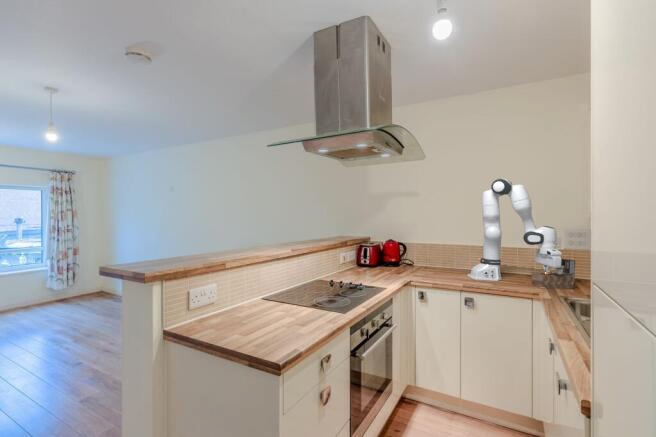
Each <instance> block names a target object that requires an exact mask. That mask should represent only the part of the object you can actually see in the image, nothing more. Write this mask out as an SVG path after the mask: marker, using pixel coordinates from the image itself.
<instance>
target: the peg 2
mask: <svg viewBox="0 0 656 437" xmlns="http://www.w3.org/2000/svg"><path fill="white" fill-rule="evenodd" d="M564 267H565V266H563V265H561V267H560V268H554V273H555V275H562V274H563V268H564Z"/></svg>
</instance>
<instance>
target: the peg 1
mask: <svg viewBox="0 0 656 437" xmlns="http://www.w3.org/2000/svg"><path fill="white" fill-rule="evenodd" d="M540 273H542V274H543V275H550V274H552V273H553V272H551V271H550V272H545V271H544V270H541V272H540Z"/></svg>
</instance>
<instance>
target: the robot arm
mask: <svg viewBox="0 0 656 437" xmlns="http://www.w3.org/2000/svg"><path fill="white" fill-rule="evenodd" d="M490 188H491V189H487V190H485V191H483V192H482V195H481V212H482V222H483V224H482V225H483V247H482V248H483V250H482V258H480V257H478V258H477V261H479V263H478V264H476V265H474V266H473V267H472V268H471V269H470V270H471V271H470V273H467V277H468V278H470V279H471V280H475V281H491V282H499V281H502V280H503V278H502V274H501V263H502V261H501V248H502V237H503V236H502V235H503V234H502V233H503V232H502V228H501V212H500V201H499V200H500V197H502V196H504V195H507V196H508V197H509V200H510V203H511V206H512V208H513V210H514V212H515V213H516V214H517V215H518V216H519V217H520V218H521V222H522V223H523V224H522V225H523V227H524V234H523V241H524V242H525V243H526V244H527V245H530V246H536V245H539V248H538V249H537V250H536V252H535V256H534V261H535V263H538V264H541V265H542V268H543V271H545V272H551V269H552V268H554V269H555V268H560V267H561V258H562V255H563V253H562V252H561V251H560V250H558V249H557V245H556V244H557V239H558V236H557V230H556V228H554V227H552V226H549V225H548V226H546V225H542V226H540V227H538V228H537V227H536V225H535V221H534V219H533V214H532V213H533V212H532V207H533V206H532V201H531V198H530V195H529V193H528V191H527V188H526V187H525V185H523V184H518V183H517V184H513V183H512V182H511V181H510V180H509V179H506V178H497V179H495V180H494V181H492V183H491V185H490Z"/></svg>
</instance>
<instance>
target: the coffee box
mask: <svg viewBox="0 0 656 437" xmlns="http://www.w3.org/2000/svg"><path fill="white" fill-rule="evenodd" d="M561 265H563V266H565V267H564V268H563V273H564V274H567V275H570V276H573V277H574V279H575V275H576V273H575V272H576V260H574V259H567V258H562V257H561ZM574 284H575V281H574V282H573V285H574Z"/></svg>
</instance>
